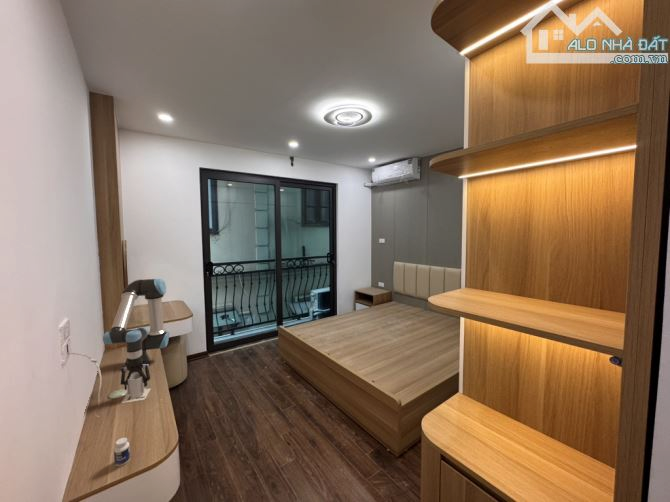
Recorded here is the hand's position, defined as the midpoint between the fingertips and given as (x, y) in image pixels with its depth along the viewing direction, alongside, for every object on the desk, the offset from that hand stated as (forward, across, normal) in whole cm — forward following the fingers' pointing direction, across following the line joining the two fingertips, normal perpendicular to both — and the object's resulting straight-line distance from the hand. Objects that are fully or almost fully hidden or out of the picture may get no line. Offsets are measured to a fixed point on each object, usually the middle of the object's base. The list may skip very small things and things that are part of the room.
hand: (136, 392), depth 168 cm
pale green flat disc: (+2, -11, +5) cm, 12 cm away
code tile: (+2, 0, 0) cm, 2 cm away
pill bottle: (+2, +11, -54) cm, 55 cm away
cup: (+2, 0, 0) cm, 2 cm away
